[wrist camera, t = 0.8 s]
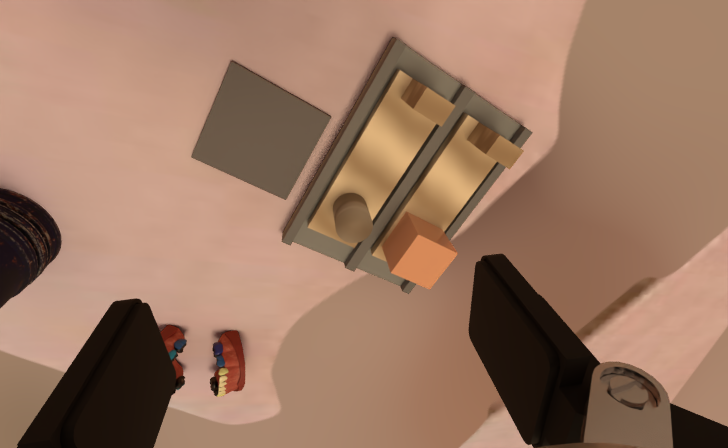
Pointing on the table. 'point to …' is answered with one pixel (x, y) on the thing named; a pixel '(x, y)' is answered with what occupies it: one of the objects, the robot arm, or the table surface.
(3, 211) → the storage jar
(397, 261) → the cube
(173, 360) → the teeth model
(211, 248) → the table surface
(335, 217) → the brown post
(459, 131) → the strip far
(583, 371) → the robot arm
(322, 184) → the lane board
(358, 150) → the strip near
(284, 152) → the mat
